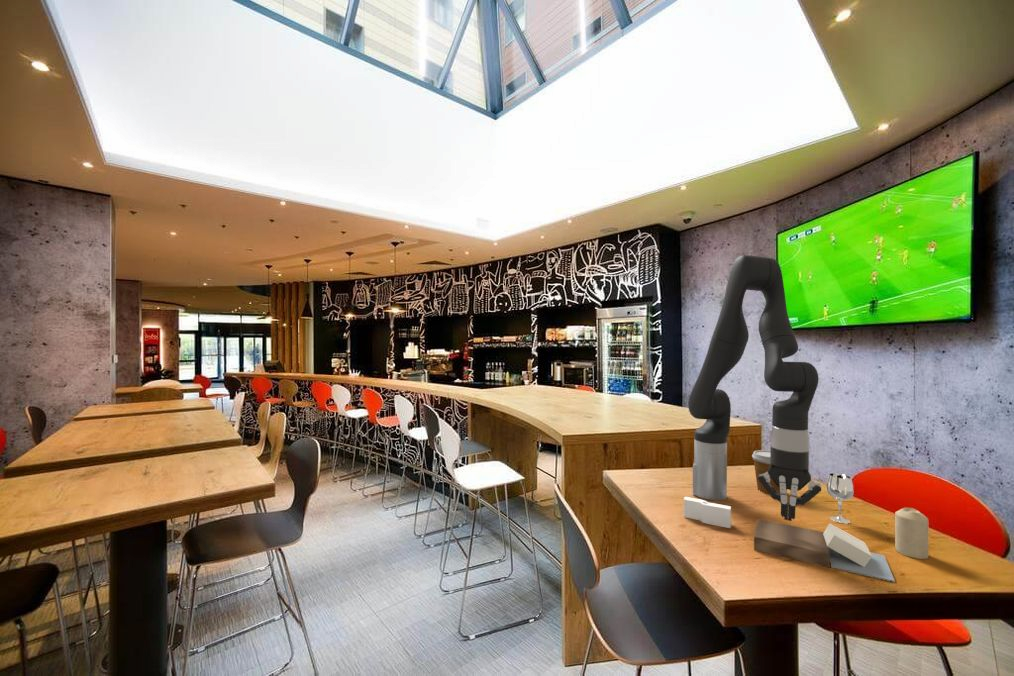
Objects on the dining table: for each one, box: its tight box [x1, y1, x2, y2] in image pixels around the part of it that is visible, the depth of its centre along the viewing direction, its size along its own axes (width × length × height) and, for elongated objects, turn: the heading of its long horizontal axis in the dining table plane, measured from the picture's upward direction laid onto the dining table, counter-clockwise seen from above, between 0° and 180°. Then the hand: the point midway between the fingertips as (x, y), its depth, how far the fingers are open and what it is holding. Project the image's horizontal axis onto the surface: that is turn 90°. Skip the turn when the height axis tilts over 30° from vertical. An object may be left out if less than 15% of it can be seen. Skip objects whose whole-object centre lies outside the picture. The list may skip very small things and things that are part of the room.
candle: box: [894, 507, 930, 560], centre depth 97 cm, size 6×6×10 cm
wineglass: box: [826, 472, 855, 525], centre depth 114 cm, size 6×6×12 cm
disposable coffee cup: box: [751, 449, 780, 495], centre depth 136 cm, size 10×10×12 cm
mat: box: [828, 547, 896, 583], centre depth 93 cm, size 10×12×1 cm
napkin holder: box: [683, 496, 732, 529], centre depth 114 cm, size 15×11×6 cm
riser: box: [753, 518, 831, 569], centre depth 99 cm, size 14×12×3 cm
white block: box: [823, 523, 872, 567], centre depth 94 cm, size 7×7×3 cm
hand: (788, 519), depth 100 cm, fingers closed
